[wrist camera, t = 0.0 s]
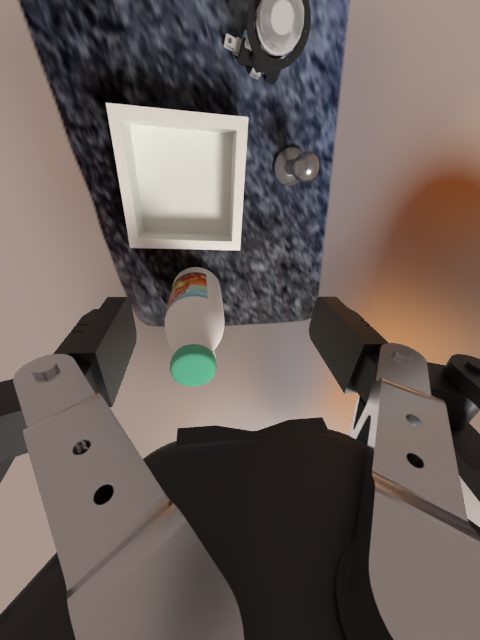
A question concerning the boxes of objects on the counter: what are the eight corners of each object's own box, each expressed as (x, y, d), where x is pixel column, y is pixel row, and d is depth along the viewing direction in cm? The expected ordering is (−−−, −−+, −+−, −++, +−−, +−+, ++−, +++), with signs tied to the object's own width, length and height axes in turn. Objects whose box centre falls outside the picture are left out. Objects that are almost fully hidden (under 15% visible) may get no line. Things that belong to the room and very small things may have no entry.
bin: (119, 111, 29) (105, 102, 25) (242, 123, 31) (248, 117, 27) (138, 238, 36) (130, 247, 32) (236, 241, 38) (240, 250, 34)
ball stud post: (276, 146, 32) (294, 141, 26) (308, 148, 33) (334, 145, 27) (271, 184, 35) (287, 188, 28) (301, 186, 35) (324, 191, 29)
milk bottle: (224, 270, 41) (240, 345, 24) (215, 311, 44) (223, 400, 28) (175, 261, 39) (155, 335, 22) (170, 304, 42) (149, 396, 26)
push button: (217, 74, 28) (224, 36, 20) (232, 8, 26) (246, -68, 17) (270, 101, 30) (297, 77, 22) (288, 42, 28) (327, -12, 19)
